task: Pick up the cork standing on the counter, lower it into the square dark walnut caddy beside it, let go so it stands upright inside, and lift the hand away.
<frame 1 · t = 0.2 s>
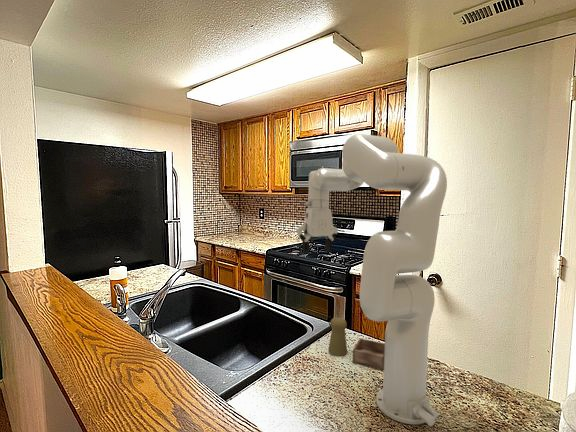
hand: (317, 251, 113), 30 cm above the counter, tool pointing down, fingers open, 9 cm apart
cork: (337, 352, 100), on the counter
shaker caddy: (370, 359, 96), on the counter
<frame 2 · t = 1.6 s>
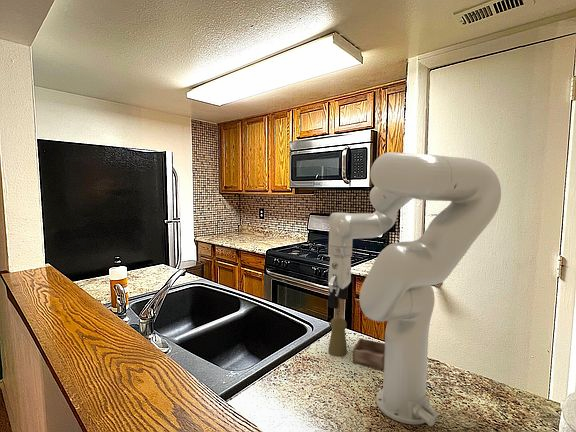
hand: (338, 303, 100), 16 cm above the counter, tool pointing down, fingers open, 9 cm apart
nothing on the counter moved.
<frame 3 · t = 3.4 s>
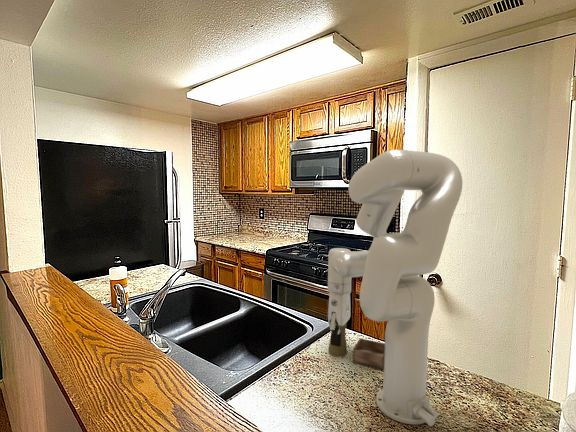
hand: (337, 342, 100), 3 cm above the counter, tool pointing down, fingers closed on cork, 3 cm apart
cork: (337, 352, 100), on the counter, touching gripper
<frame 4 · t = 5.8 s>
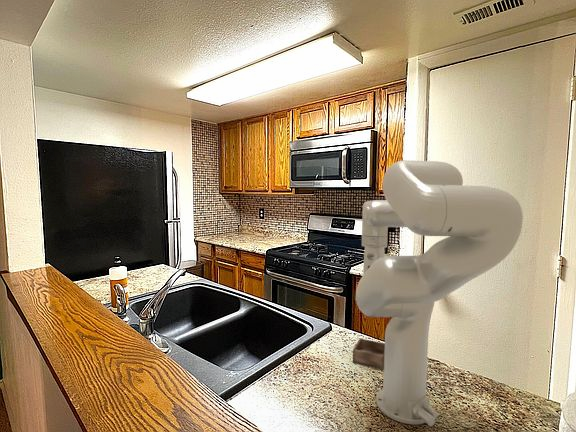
hand: (372, 300, 95), 19 cm above the counter, tool pointing down, fingers closed on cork, 3 cm apart
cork: (372, 311, 95), point 15 cm above the counter, touching gripper
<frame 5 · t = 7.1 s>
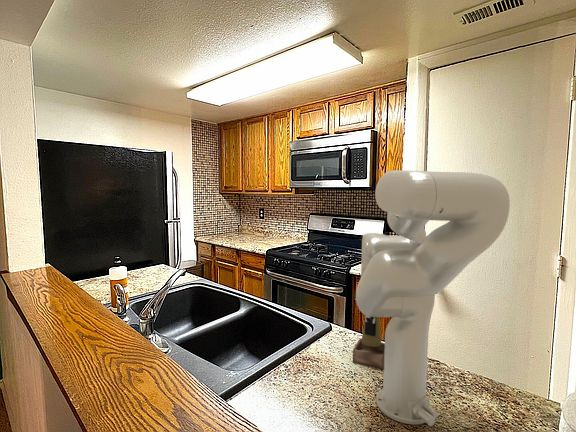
hand: (371, 331, 95), 9 cm above the counter, tool pointing down, fingers closed on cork, 3 cm apart
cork: (371, 342, 96), point 5 cm above the counter, touching gripper
when the fingers open (5 cm above the counter, at t = 8.2 s): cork stays where it is, resting on shaker caddy.
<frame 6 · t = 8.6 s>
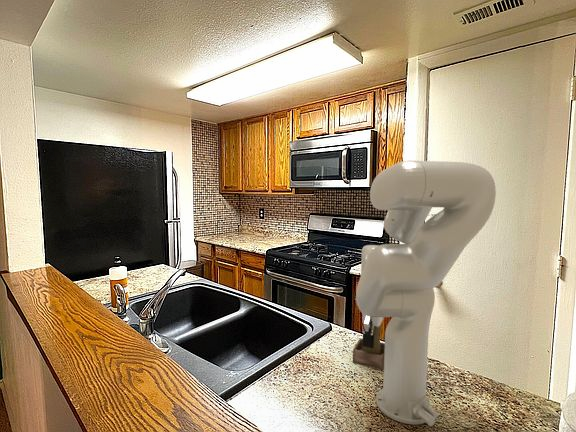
hand: (371, 340, 96), 6 cm above the counter, tool pointing down, fingers open, 9 cm apart
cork: (371, 357, 96), point 1 cm above the counter, touching shaker caddy
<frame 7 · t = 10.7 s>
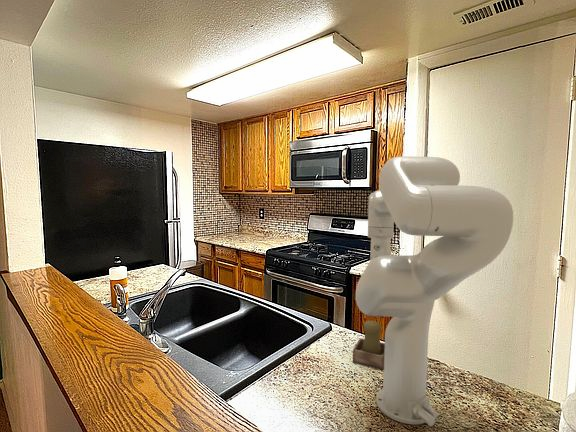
hand: (379, 288, 95), 22 cm above the counter, tool pointing down, fingers open, 9 cm apart
nothing on the counter moved.
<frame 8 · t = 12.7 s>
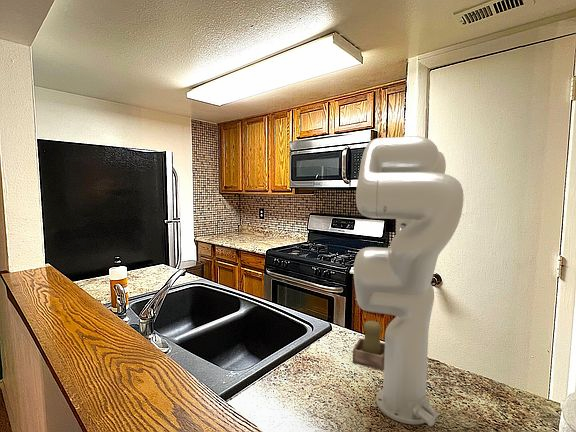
hand: (404, 256, 95), 32 cm above the counter, tool pointing down, fingers open, 9 cm apart
nothing on the counter moved.
at the end: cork 0.1 cm off-centre on the shaker caddy, point 0.6 cm above the shaker caddy's base; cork tilted 0°; the gripper is holding nothing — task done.
